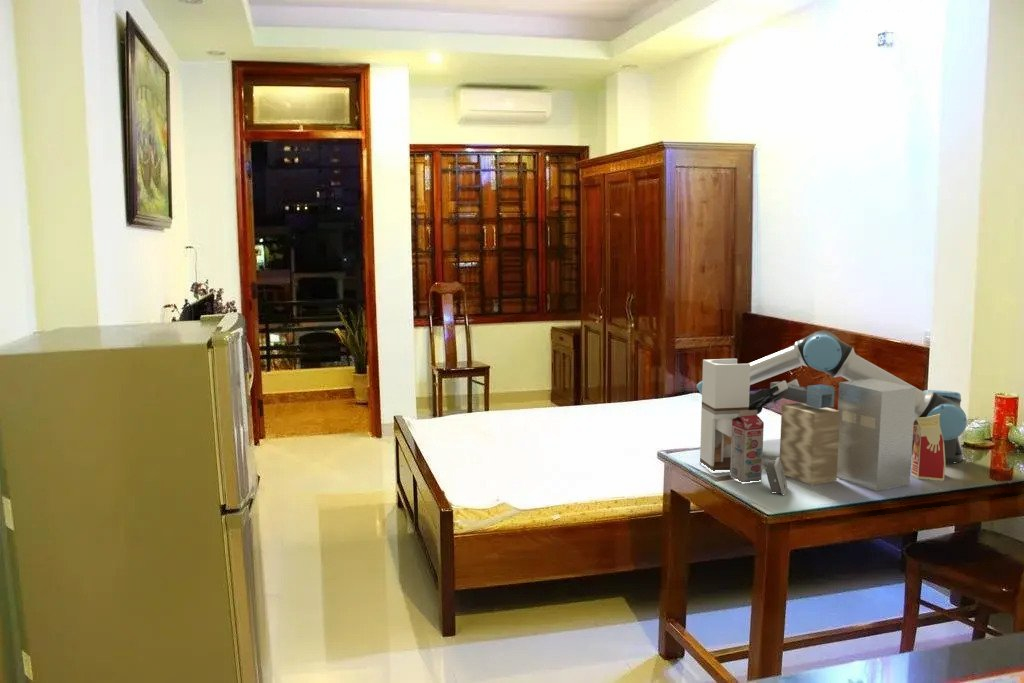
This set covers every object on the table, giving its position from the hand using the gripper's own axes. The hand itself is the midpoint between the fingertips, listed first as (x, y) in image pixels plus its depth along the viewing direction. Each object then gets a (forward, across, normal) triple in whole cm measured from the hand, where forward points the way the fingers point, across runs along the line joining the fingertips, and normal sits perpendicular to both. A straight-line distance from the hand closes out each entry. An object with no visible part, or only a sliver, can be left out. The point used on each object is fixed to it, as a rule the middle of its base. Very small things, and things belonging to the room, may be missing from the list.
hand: (791, 383), depth 255 cm
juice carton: (-12, +20, -26) cm, 35 cm away
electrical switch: (-1, +18, -32) cm, 37 cm away
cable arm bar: (+1, 0, -6) cm, 6 cm away
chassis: (+3, -15, -34) cm, 37 cm away
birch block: (-7, 0, -29) cm, 29 cm away
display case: (-23, +18, -19) cm, 35 cm away
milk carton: (+6, -34, -36) cm, 50 cm away
